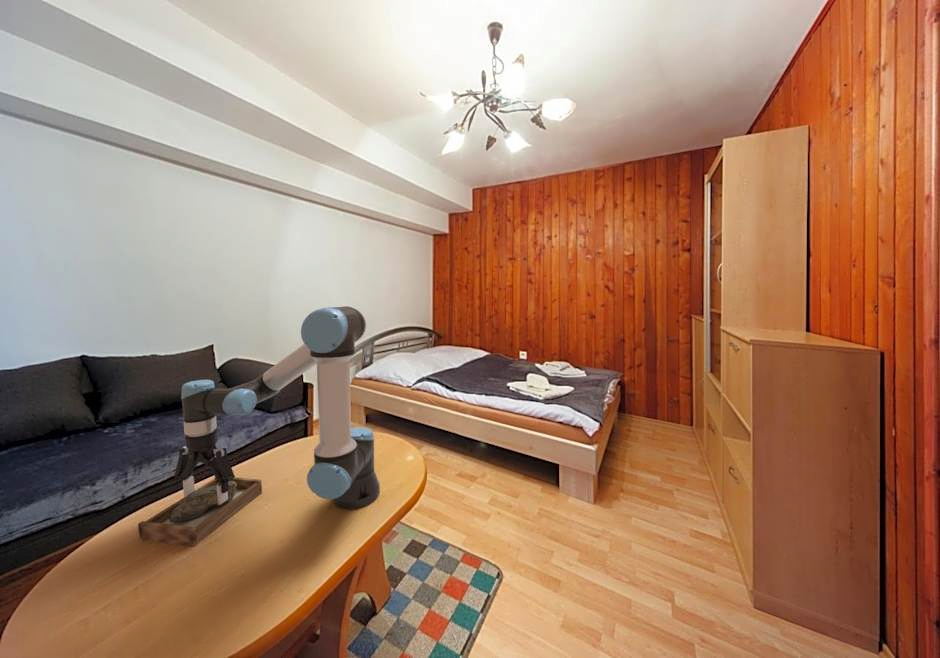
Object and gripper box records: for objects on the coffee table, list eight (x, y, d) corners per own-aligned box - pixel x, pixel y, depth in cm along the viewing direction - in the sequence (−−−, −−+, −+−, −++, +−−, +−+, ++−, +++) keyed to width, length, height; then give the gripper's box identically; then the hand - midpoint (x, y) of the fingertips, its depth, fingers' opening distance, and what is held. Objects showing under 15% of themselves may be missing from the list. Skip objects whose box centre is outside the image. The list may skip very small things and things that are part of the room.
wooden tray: (262, 493, 110) (261, 479, 110) (193, 546, 87) (192, 530, 86) (217, 488, 112) (217, 475, 112) (139, 539, 89) (138, 523, 88)
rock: (231, 476, 109) (242, 478, 103) (233, 496, 109) (245, 500, 103) (162, 500, 95) (171, 504, 89) (165, 523, 95) (174, 529, 89)
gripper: (246, 429, 99) (250, 496, 101) (180, 424, 102) (185, 489, 104) (224, 440, 92) (229, 512, 94) (154, 434, 95) (160, 504, 97)
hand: (206, 500), depth 99 cm, fingers closed on rock, 11 cm apart
